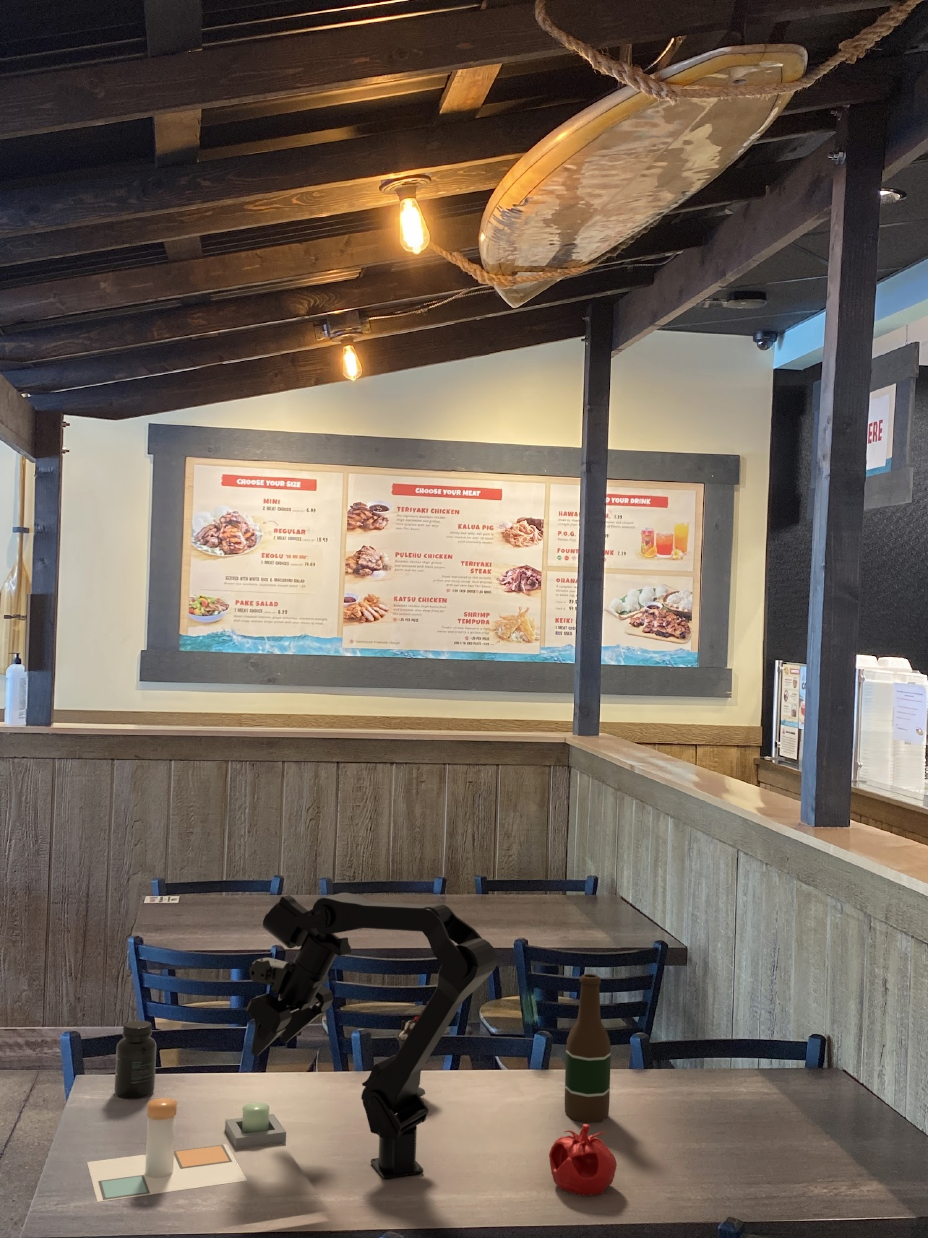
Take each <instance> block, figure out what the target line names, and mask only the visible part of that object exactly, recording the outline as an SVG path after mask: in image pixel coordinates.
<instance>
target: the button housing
mask: <svg viewBox="0 0 928 1238" xmlns="http://www.w3.org/2000/svg"><path fill="white" fill-rule="evenodd" d="M242 1119H243V1117H237V1118H228V1119H225V1120H224V1123H225V1124H224V1131H225V1132H226V1135H227V1136H228V1138H229V1140H231V1142H232V1145H233V1146H234V1148H235V1149H243V1148H249V1147H257V1146H266V1145H274V1144H280V1143H282V1144H283V1145H284V1146H285V1147H286V1145H287V1131H286V1130H285V1129H286V1128H284V1127H283V1125H282V1123H281V1122H280V1121H279V1119H278V1118H277V1117H276V1114H274V1113H272V1114H271V1113H269V1130H268V1131H262V1132H254V1133H246V1134H244V1133H243V1132H242Z"/></svg>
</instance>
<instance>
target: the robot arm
mask: <svg viewBox="0 0 928 1238" xmlns="http://www.w3.org/2000/svg"><path fill="white" fill-rule="evenodd" d="M262 920H263V921H262V928H263V929H264V930H265V931H266V932H268V933H269V934H270V935H271V936H273V937H274V939H276V940H278V941H279V942H280V943H281V944H283V945H284V946H285V947H287V948H288V949H293V948H296V947H298V948H299V950H298V952H297V954H296V955H295V958H294V959H293V960H292V961H290V962H289V961H284V960H281V959H276V958H273V957H263V958H258V959H255V960H254V962H251V967H250V968H248V970H247V971H248V973H249V977H250V980H251V982H253V983H254V984H255V983H256V984H257V983H260V984H265V985H268V986H272V987H271V990H270V991H272V992H273V993H274V994H276V995H277V994H278V995H279V998H280V1000H279V999H277V998H276V997H275V996H274V995H272V994H271V993H265V994H261V995H258V996H256V997H253V998H251V999H250V1000H249V1002H248V1004H247V1007H246V1008H245V1010H246V1013H248V1014H249V1016H250V1018H252V1019H253V1021H254V1034H253V1038H252V1039H253V1040H252V1046H251V1051H250V1053H251V1054H252V1055H253V1056H254V1057H258V1056H260V1054H261V1053H263V1052H264V1051H265V1050H266V1049H267V1048H268V1047H269V1046H270V1045H271V1044H272V1043H273V1042H274V1041H275V1040H276V1039H277V1038H279V1036H280V1041H281V1042H282V1043H283V1044H286V1043H288V1042H289V1041H290V1040H291V1039H293V1038H294V1037H295V1036H296V1035H298V1033H300V1032H301V1031H302V1030H304V1029H305V1028H306V1027H307V1026H308V1025H310V1024H311V1023H312V1022H314V1021H315V1020H316V1019H317V1018H318V1017H320V1016H321V1015H323V1014H324V1012H326V1011H327V1010H329V1008H330V1007H331V1004H332V1003H333V1001H334V996H333V991H332V990H330V989H329V988H327V987H326V986H325V985H324V984H327V983H328V980H329V978H330V977H329V976H328V975H327V974H328V973H329V970H330V968H331V966H332V964H333V962H334V960H335V958H336V956H337V957H344V956H349V955H352V953H353V951H352V947H351V945H350V943H349V938H348V937H339V936H338V935H337V933H338V934H339V933H345V932H348V931H349V932H351V931H355V930H360V929H370V930H371V929H373V930H386V931H387V930H389V931H404V932H405V931H406V932H407V931H408V932H421V933H423V934H424V936H425V937H426V938H427V941H428V943H429V945H430V948H431V951H432V953H433V954H432V955H433V956H434V957H435V958H436V960H437V961H438V962H439V963H440V964H441V965H440V967H439V970H438V973H437V984H436V989H435V991H434V992H433V994H432V995H431V997H430V998H429V1000H428V1002H427V1003H426V1006H424V1008H423V1009H422V1010H423V1012H422V1011H421V1012H422V1013H421V1012H420V1014H421V1015H419V1016H420V1017H419V1018H418V1020H417V1022H416V1023H415V1025H414V1027H413V1028H412V1030H411V1031H410V1033H409V1035H408V1036H407V1038H406V1040H405V1041H404V1043H403V1045H402V1046H401V1048H400V1047H399V1050H397V1053H396V1054H394V1055H391V1056H389V1057H387V1058H385V1059H383V1060H381V1061H379V1062H377V1063H375V1064H374V1065H373V1067H372V1068H371V1071H370V1073H369V1076H368V1078H367V1079H366V1081H364V1082H362V1084H361V1086H363V1087H364V1088H363V1090H362V1091H361V1092H362V1093H361V1097H360V1099H361V1100H362V1106H363V1108H364V1110H365V1114H366V1118H367V1122H368V1126H369V1131H370V1133H372V1134H374V1135H377V1136H378V1157H376V1158H371V1159H370V1164H371V1165H372V1166H373V1167H374V1169H375V1170H376V1171H377V1172H378V1174H379V1175H380V1176H381V1178H383V1179H391V1178H392V1179H393V1178H399V1177H406V1176H412V1175H418V1174H420V1175H421V1174H423V1173H424V1168H423V1167H422V1165H420V1164H419V1162H418V1161H417V1160H416V1158H417V1155H416V1154H417V1135H418V1134H417V1133H418V1131H417V1129H418V1128H417V1126H418V1125H421V1123H424V1122H426V1120H427V1116H428V1115H429V1114H428V1113H429V1107H428V1106H427V1105H426V1104H425V1102H424V1100H423V1099H422V1097H421V1096H419V1095H418V1093H417V1090H418V1087H420V1085H421V1073H422V1071H423V1067H424V1066H425V1064H426V1062H427V1061H428V1059H429V1057H430V1056H431V1054H432V1053H433V1051H434V1050H435V1048H436V1046H437V1045H438V1043H439V1041H440V1040H441V1038H442V1036H443V1035H444V1033H445V1031H446V1030H447V1028H448V1027H449V1025H450V1023H451V1022H452V1020H453V1018H454V1017H455V1016H456V1014H457V1012H458V1010H459V1009H460V1007H461V1006H462V1004H463V1002H464V1001H465V1000H466V999H467V997H469V996H470V995H471V994H472V993H474V991H476V990H477V989H478V988H479V987H480V986H481V985H482V984H483V983H484V982H485V981H486V980H487V978H489V977H490V976H491V974H493V972H494V971H495V970H496V967H497V965H498V957H497V953H496V950H495V948H494V946H493V945H492V944H491V943H490V942H489V941H488V940H486V939H484V938H483V937H482V935H480V934H479V933H478V932H477V930H476V929H475V928H473V927H472V926H471V925H469V924H468V923H466V922H465V921H463V920H462V919H461V918H459V917H458V916H457V915H456V914H455V913H454V911H452V909H451V908H450V907H449V906H447V904H443V903H441V902H440V903H434V904H423V903H403V902H402V903H401V902H384V901H381V902H380V901H372V900H369V899H367V898H365V897H364V896H362V895H361V896H360V895H357V894H354V893H349V892H340V893H336V894H332V895H329V896H325V897H321V898H318V899H317V900H316V901H315V903H314V904H313V906H312V908H311V909H310V910H308V909H306V908H305V907H304V906H303V905H301V903H299V902H298V901H297V900H296V899H295V898H294V897H293V896H291V895H289V894H288V895H284V896H281V897H280V899H279V902H277V903H275V904H274V905H273V907H271V909H270V910H269V911H268V913H266V914H265V915H264V917H263V919H262ZM456 944H457V945H456Z"/></svg>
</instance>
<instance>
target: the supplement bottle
mask: <svg viewBox="0 0 928 1238" xmlns="http://www.w3.org/2000/svg"><path fill="white" fill-rule="evenodd" d="M152 1024H153V1023H151V1022H150V1021H147V1020H133V1021H128V1022H125V1023H124V1024H123V1027H122V1028H123V1029H122V1030H123V1032H122V1037H123V1038H121V1039H120V1040H119V1041H118V1042H117V1044H116V1049H115V1050H116V1053H115V1069H114V1070H115V1071H114V1072H115V1074H114V1075H115V1076H114V1094H115V1096H117V1097H118V1098H120V1099H123V1100H140V1099H144V1098H146V1097H149V1096H151V1095H152V1094H153V1093H154V1090H155V1082H156V1081H155V1079H156V1066H157V1065H156V1064H157V1063H156V1061H157V1060H156V1059H157V1043H156V1040H155V1039H154V1038H152V1037H151V1036H152V1034H153V1032H152Z"/></svg>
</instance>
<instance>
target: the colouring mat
mask: <svg viewBox="0 0 928 1238" xmlns="http://www.w3.org/2000/svg"><path fill="white" fill-rule="evenodd" d="M86 1164H87V1166H88V1167H87V1168H88V1171H89V1174H90V1179H91V1183H92V1186H93V1187H92V1188H93V1191H94V1194H95V1198H96V1202H97V1203H100V1202H109V1201H115V1200H116V1201H117V1200H123V1199H129V1198H136V1197H143V1196H144V1197H145V1196H149V1195H156V1194H165V1193H172V1192H177V1191H178V1192H179V1191H185V1190H192V1189H200V1188H207V1187H213V1186H219V1185H228V1184H235V1183H240V1182H247V1181H248V1180H247V1178H246V1176H245V1174H244V1173H243V1170H242V1169H241V1167H240V1166H239V1164H238V1161H237V1160H236V1158H235V1157H234V1155H233V1152H232V1151H231V1149H230V1148H229V1145H228V1144H227V1143H224V1144H218V1145H211V1146H210V1145H209V1146H201V1147H195V1148H194V1147H192V1148H186V1149H178V1150H174V1162H173V1173H172V1174H171V1175H169V1176H166V1177H162V1178H152V1177H148V1176H147V1175H146V1174H145V1166H146V1154H139V1155H133V1156H132V1155H131V1156H124V1157H117V1158H109V1159H101V1160H94V1161H87V1163H86Z"/></svg>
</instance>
